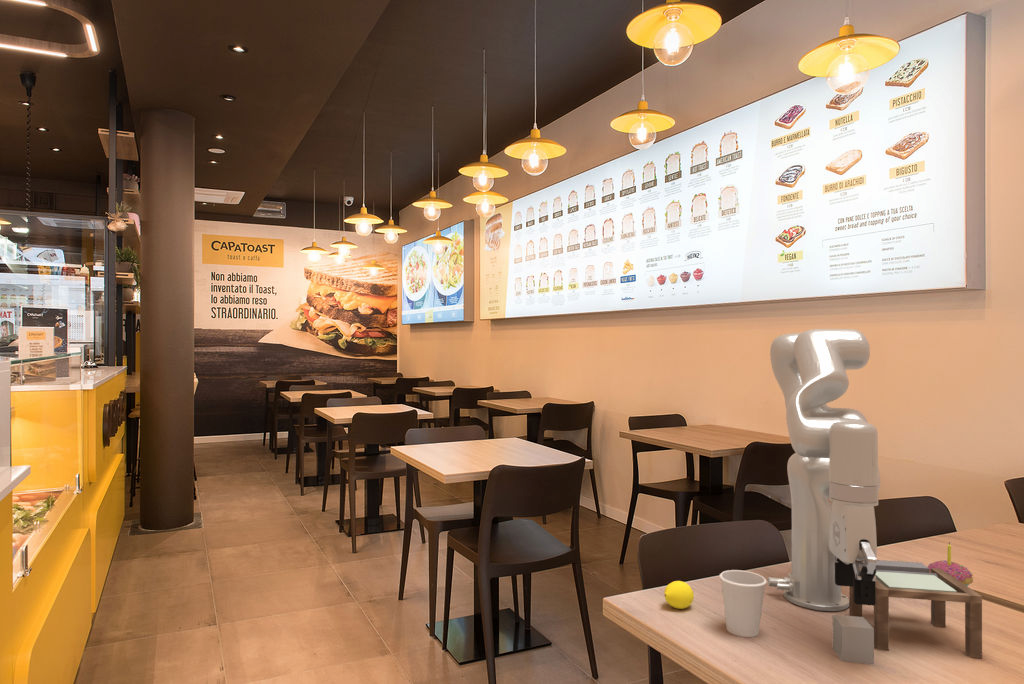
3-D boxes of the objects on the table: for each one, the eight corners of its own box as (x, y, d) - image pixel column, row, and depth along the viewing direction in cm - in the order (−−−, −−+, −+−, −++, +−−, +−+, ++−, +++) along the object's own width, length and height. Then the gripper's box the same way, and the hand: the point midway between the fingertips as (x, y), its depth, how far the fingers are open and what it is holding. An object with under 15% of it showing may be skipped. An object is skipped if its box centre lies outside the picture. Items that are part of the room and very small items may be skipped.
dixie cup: (709, 625, 124) (710, 572, 124) (743, 618, 127) (743, 567, 127) (741, 643, 116) (741, 587, 116) (776, 636, 119) (776, 581, 120)
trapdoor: (886, 601, 116) (886, 583, 116) (858, 574, 130) (858, 558, 130) (960, 606, 114) (960, 588, 114) (923, 579, 128) (923, 562, 128)
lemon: (681, 603, 136) (684, 577, 136) (699, 612, 131) (702, 585, 132) (655, 603, 133) (658, 577, 134) (672, 613, 128) (675, 585, 129)
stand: (877, 649, 114) (877, 589, 114) (849, 616, 129) (849, 562, 129) (982, 658, 111) (982, 596, 111) (941, 623, 126) (941, 568, 126)
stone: (841, 661, 110) (842, 626, 110) (832, 648, 115) (832, 614, 115) (873, 664, 109) (874, 628, 109) (863, 651, 114) (863, 617, 114)
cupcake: (974, 605, 136) (974, 547, 136) (926, 596, 140) (926, 541, 140) (971, 592, 143) (971, 538, 143) (925, 585, 147) (925, 532, 148)
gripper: (816, 484, 121) (816, 577, 120) (846, 502, 104) (847, 610, 103) (859, 486, 120) (860, 580, 119) (897, 504, 103) (898, 614, 102)
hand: (854, 594), depth 111 cm, fingers open, 9 cm apart
